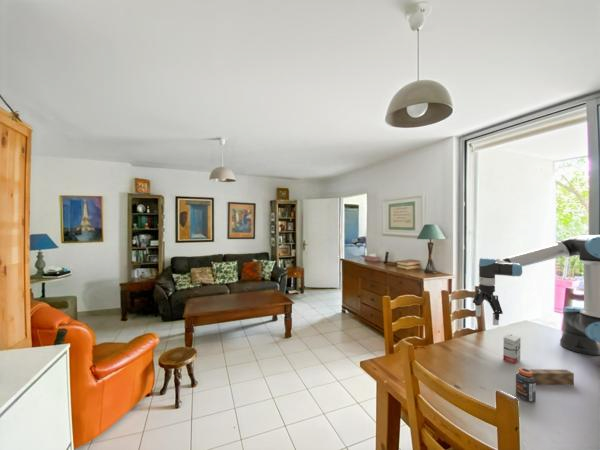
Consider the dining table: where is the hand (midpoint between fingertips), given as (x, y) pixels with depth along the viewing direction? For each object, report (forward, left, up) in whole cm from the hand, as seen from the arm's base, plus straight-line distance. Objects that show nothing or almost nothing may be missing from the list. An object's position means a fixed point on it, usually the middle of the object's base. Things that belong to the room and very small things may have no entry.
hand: (486, 320), depth 145 cm
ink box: (0, +17, -14) cm, 22 cm away
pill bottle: (+19, +46, -14) cm, 52 cm away
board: (0, +36, -14) cm, 39 cm away
